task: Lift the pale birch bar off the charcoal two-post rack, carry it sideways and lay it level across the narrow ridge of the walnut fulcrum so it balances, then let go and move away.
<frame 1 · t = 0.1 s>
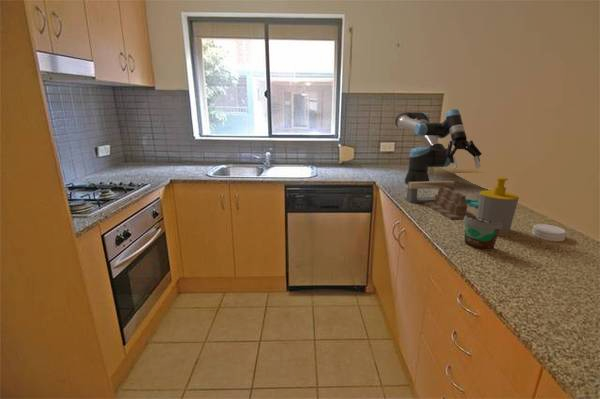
hand: (467, 167, 172), 15 cm above the worktop, tool tilted 35°, fingers open, 13 cm apart
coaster: (547, 237, 118), on the worktop
birch bar: (430, 187, 162), point 7 cm above the worktop, touching rack
food container: (476, 246, 110), on the worktop
alien figure: (486, 206, 157), on the worktop
rack: (429, 200, 164), on the worktop
fulcrum: (448, 211, 147), on the worktop
soap bottle: (492, 229, 125), on the worktop
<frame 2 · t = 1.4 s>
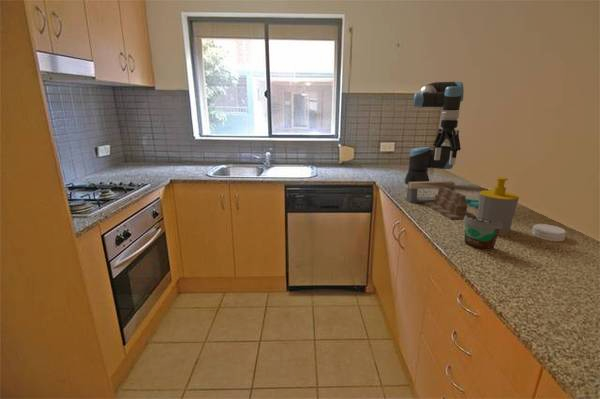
hand: (444, 162, 159), 20 cm above the worktop, tool pointing down, fingers open, 13 cm apart
nothing on the worktop moved.
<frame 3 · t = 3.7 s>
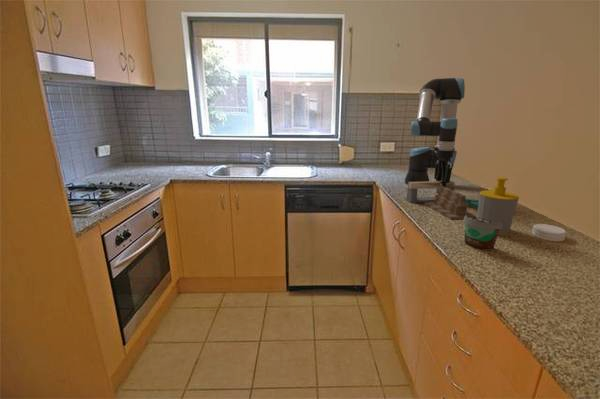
hand: (439, 193, 164), 3 cm above the worktop, tool pointing down, fingers closed on birch bar, 3 cm apart
birch bar: (430, 187, 162), point 7 cm above the worktop, touching gripper, rack
everything else where it was.
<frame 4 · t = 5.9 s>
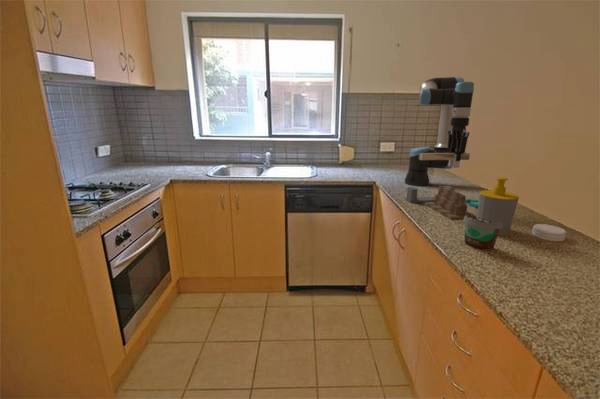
hand: (453, 166, 151), 20 cm above the worktop, tool pointing down, fingers closed on birch bar, 3 cm apart
birch bar: (443, 159, 149), point 23 cm above the worktop, touching gripper
everything else where it was.
when the fingers open (7 cm above the worktop, at t = 8.4 s): birch bar drops 1 cm, resting on fulcrum.
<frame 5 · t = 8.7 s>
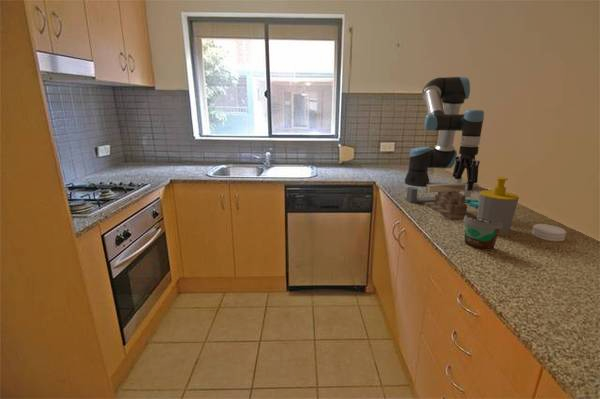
hand: (461, 194, 146), 8 cm above the worktop, tool pointing down, fingers open, 7 cm apart
birch bar: (451, 190, 144), point 10 cm above the worktop, touching fulcrum
everything else where it was.
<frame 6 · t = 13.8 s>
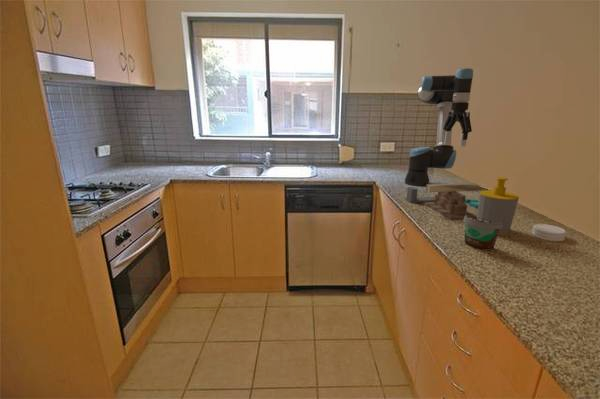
hand: (454, 144, 161), 29 cm above the worktop, tool pointing down, fingers open, 13 cm apart
nothing on the worktop moved.
at the end: birch bar 0.0 cm off-centre on the fulcrum, point 10.0 cm above the fulcrum's base; birch bar tilted 0°; the gripper is holding nothing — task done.
